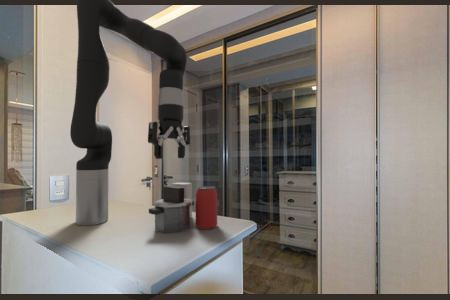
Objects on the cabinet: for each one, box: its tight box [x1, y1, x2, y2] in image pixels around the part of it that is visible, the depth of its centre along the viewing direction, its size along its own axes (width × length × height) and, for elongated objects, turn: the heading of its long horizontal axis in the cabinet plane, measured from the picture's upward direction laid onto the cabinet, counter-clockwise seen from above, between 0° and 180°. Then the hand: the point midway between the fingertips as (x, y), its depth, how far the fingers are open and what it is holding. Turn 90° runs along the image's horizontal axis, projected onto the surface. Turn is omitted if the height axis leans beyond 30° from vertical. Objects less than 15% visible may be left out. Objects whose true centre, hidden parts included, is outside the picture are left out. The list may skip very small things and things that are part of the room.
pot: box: [148, 200, 195, 234], centre depth 69 cm, size 10×15×7 cm, turn 143°
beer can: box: [195, 185, 218, 230], centre depth 69 cm, size 7×7×12 cm
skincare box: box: [170, 182, 193, 218], centre depth 80 cm, size 6×4×12 cm
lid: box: [153, 185, 193, 209], centre depth 69 cm, size 11×11×5 cm
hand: (170, 158), depth 69 cm, fingers open, 8 cm apart
